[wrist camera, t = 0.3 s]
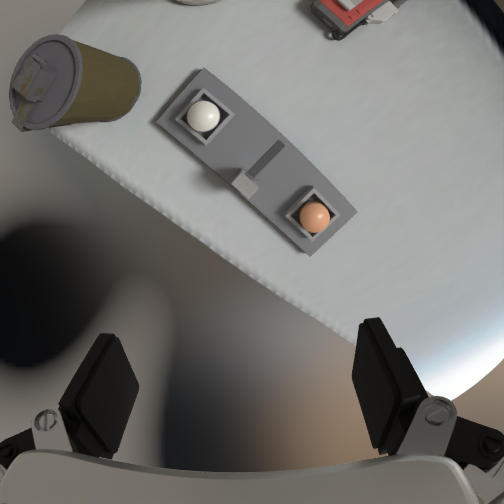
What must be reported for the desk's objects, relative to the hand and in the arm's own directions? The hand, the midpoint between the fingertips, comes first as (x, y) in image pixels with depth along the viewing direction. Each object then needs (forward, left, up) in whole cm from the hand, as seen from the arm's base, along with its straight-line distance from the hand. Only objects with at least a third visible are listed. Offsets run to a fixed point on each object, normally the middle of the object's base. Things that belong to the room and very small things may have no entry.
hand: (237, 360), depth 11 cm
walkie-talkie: (-8, +34, -36) cm, 50 cm away
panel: (0, +3, -35) cm, 35 cm away
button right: (+10, +3, -32) cm, 34 cm away
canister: (-25, -3, -35) cm, 44 cm away
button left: (-10, +3, -32) cm, 34 cm away
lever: (0, 0, -33) cm, 33 cm away
